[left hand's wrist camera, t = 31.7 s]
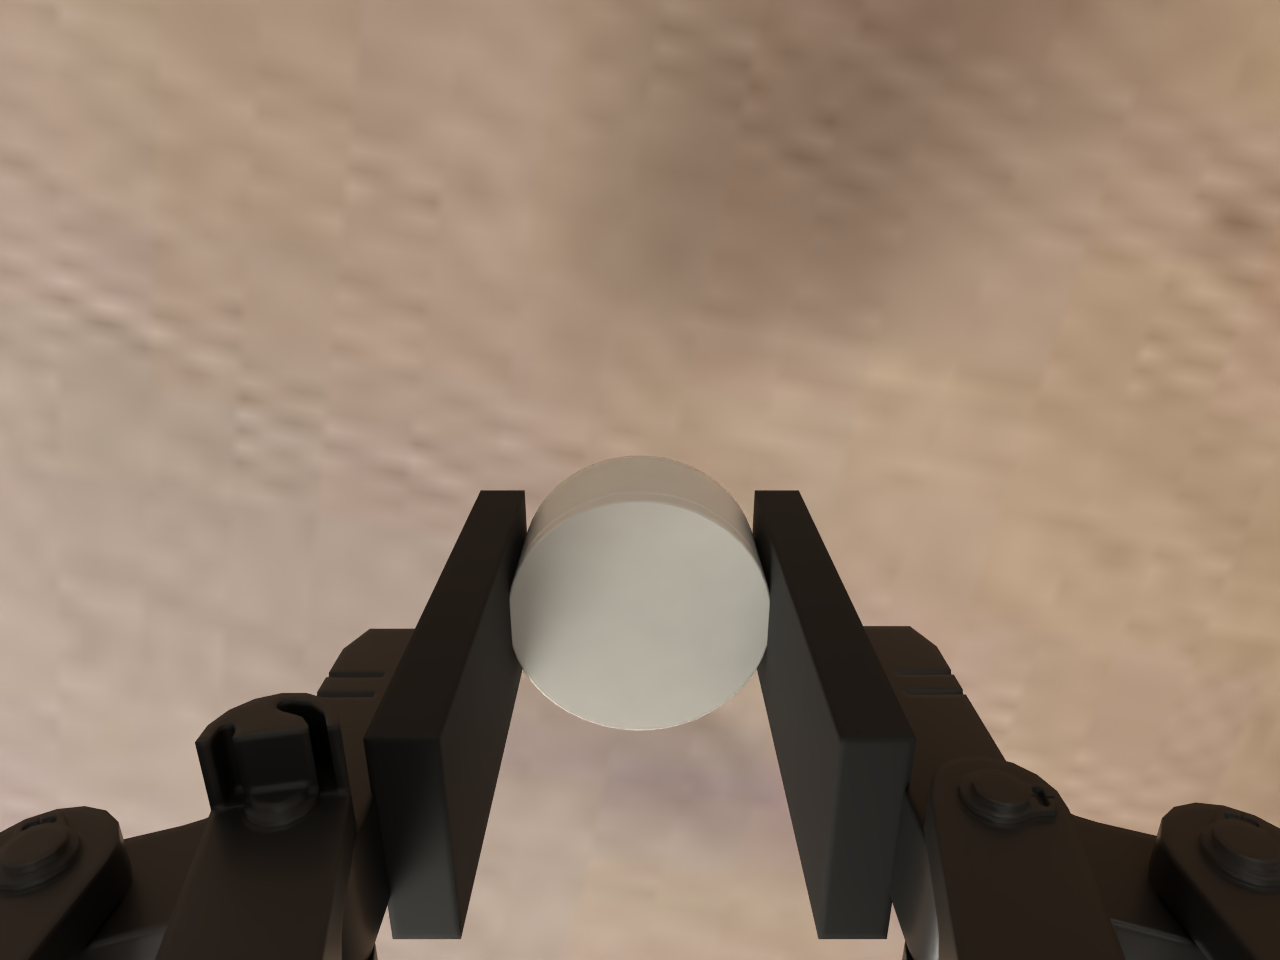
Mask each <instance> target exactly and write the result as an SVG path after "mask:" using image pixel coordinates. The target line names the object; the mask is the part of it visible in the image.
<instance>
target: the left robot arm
mask: <svg viewBox="0 0 1280 960" xmlns="http://www.w3.org/2000/svg"><path fill="white" fill-rule="evenodd" d="M526 535H527V526H526V508H525V491H480V493H479V495H478V498H477V500H476V502H475V504H474V506H473V508H472V510H471V512H470V514H469V516H468V519H467V521H466V523H465V525H464V527H463V529H462V531H461V533H460V535H459V538H458V540H457V542H456V544H455V546H454V548H453V550H452V552H451V554H450V556H449V559H448V561H447V563H446V565H445V567H444V569H443V571H442V573H441V575H440V578H439V580H438V582H437V584H436V586H435V588H434V590H433V592H432V594H431V596H430V599H429V601H428V603H427V605H426V607H425V609H424V611H423V613H422V615H421V618H420V620H419V622H418V624H417V626H416V628H415V629H369V630H368V631H367V632H365V633H364V634H363V635H361V636H360V637H359V638H357V639H356V640H355V641H353V642H352V643H351V644H349V645H348V646H347V647H345V648H344V649H343V650H342V652H341V654H340V655H339V657H338V659H337V660H336V662H335V664H334V665H333V667H332V669H331V670H330V672H329V677H326V679H325V680H324V682H323V684H322V685H321V687H320V689H319V690H318V692H317V696H315V695H311V694H308V693H280V694H276V695H271V696H266V697H262V698H257V699H254V700H251V701H249V702H247V703H244V704H242V705H240V706H237V707H235V708H233V709H230V710H228V711H227V712H226V713H224V714H223V715H221V716H220V717H219V718H217V719H216V720H214V721H213V722H212V723H210V724H209V725H208V726H207V727H206V728H205V730H204V731H203V732H202V734H201V735H200V736H199V738H198V739H197V740H196V742H195V744H196V749H197V753H198V757H199V761H200V765H201V770H202V774H203V778H204V782H205V786H206V790H207V795H208V799H209V803H210V807H211V812H210V815H209V817H208V818H206V819H203V820H200V821H196V822H193V823H190V824H187V825H183V826H179V827H175V828H171V829H166V830H162V831H158V832H153V833H149V834H145V835H140V836H136V837H132V838H127V839H123V836H122V833H121V829H120V826H119V822H118V821H117V820H116V819H115V818H114V817H113V816H111V815H110V814H109V813H108V812H107V811H106V810H101V809H96V808H91V807H86V806H82V807H73V808H63V809H56V810H53V811H50V812H46V813H43V814H40V815H37V816H34V817H31V818H28V819H25V820H23V821H21V822H19V823H17V824H15V825H14V826H12V827H10V828H8V829H6V830H4V831H2V832H0V960H378V958H377V952H376V946H375V941H376V938H377V935H378V932H379V929H380V926H381V923H382V920H383V917H384V914H385V911H386V908H387V905H388V910H389V917H390V923H391V930H392V937H393V939H461V936H462V932H463V927H464V923H465V919H466V914H467V910H468V905H469V901H470V897H471V892H472V888H473V884H474V879H475V875H476V870H477V866H478V862H479V857H480V853H481V848H482V844H483V840H484V835H485V831H486V827H487V822H488V818H489V813H490V809H491V805H492V800H493V796H494V791H495V787H496V783H497V778H498V774H499V770H500V765H501V761H502V756H503V752H504V748H505V743H506V739H507V734H508V730H509V726H510V721H511V717H512V713H513V708H514V704H515V699H516V695H517V691H518V686H519V682H520V677H521V673H522V669H523V668H522V666H521V664H520V663H519V661H518V659H517V657H516V654H515V652H514V649H513V644H512V630H511V615H510V598H509V597H510V590H511V585H512V582H513V579H514V575H515V572H516V569H517V565H518V562H519V558H520V555H521V552H522V548H523V545H524V542H525V538H526ZM753 538H754V541H755V544H756V548H757V551H758V554H759V558H760V561H761V564H762V568H763V571H764V575H765V578H766V581H767V585H768V589H769V593H770V606H769V621H768V637H767V647H766V650H765V653H764V655H763V658H762V659H761V661H760V663H759V665H758V667H757V671H758V675H759V680H760V684H761V689H762V693H763V697H764V702H765V706H766V710H767V715H768V719H769V724H770V728H771V732H772V737H773V741H774V746H775V750H776V754H777V759H778V763H779V767H780V772H781V776H782V781H783V785H784V789H785V794H786V798H787V803H788V807H789V811H790V816H791V820H792V824H793V829H794V833H795V838H796V842H797V846H798V851H799V855H800V860H801V864H802V868H803V873H804V877H805V881H806V886H807V890H808V895H809V899H810V903H811V908H812V912H813V917H814V921H815V925H816V930H817V934H818V938H819V939H887V933H888V927H889V920H890V913H891V906H892V903H893V905H894V908H895V911H896V914H897V917H898V920H899V923H900V926H901V929H902V932H903V935H904V938H905V946H904V952H903V958H902V960H1280V828H1278V827H1276V826H1274V825H1272V824H1270V823H1268V822H1266V821H1264V820H1262V819H1261V818H1259V817H1257V816H1255V815H1251V814H1248V813H1245V812H1242V811H1239V810H1236V809H1233V808H1230V807H1226V806H1223V805H1213V804H1204V803H1191V804H1187V805H1182V806H1177V807H1174V808H1173V809H1171V810H1170V811H1169V812H1168V813H1167V814H1166V815H1165V816H1164V817H1163V818H1162V820H1161V824H1160V827H1159V830H1158V834H1157V836H1154V835H1150V834H1146V833H1141V832H1137V831H1133V830H1128V829H1124V828H1120V827H1115V826H1111V825H1107V824H1102V823H1098V822H1095V821H1091V820H1088V819H1085V818H1081V817H1078V816H1075V815H1073V814H1071V813H1070V811H1069V809H1068V807H1067V806H1066V804H1065V803H1064V801H1063V800H1062V798H1061V796H1060V795H1059V793H1058V792H1057V791H1056V790H1055V789H1054V788H1053V787H1051V786H1050V785H1049V784H1048V783H1047V782H1045V781H1044V780H1043V779H1042V778H1040V777H1039V776H1038V775H1037V774H1034V773H1032V772H1030V771H1028V770H1026V769H1024V768H1022V767H1020V766H1018V765H1016V764H1014V763H1011V762H1007V761H1006V760H1005V759H1004V757H1003V755H1002V754H1001V752H1000V750H999V749H998V747H997V745H996V744H995V742H994V740H993V739H992V737H991V735H990V734H989V732H988V731H987V729H986V727H985V726H984V724H983V722H982V721H981V719H980V717H979V716H978V714H977V712H976V711H975V709H974V707H973V706H972V704H971V702H970V701H969V699H968V697H967V696H966V695H963V689H962V688H961V686H960V684H959V683H958V681H957V679H956V678H955V676H954V675H951V669H950V668H949V666H948V664H947V663H946V661H945V659H944V658H943V656H942V655H941V653H940V651H939V650H938V648H937V646H935V645H934V644H933V643H931V642H930V641H929V640H927V639H926V638H925V637H923V636H922V635H921V634H919V633H918V632H917V631H915V630H914V629H913V628H911V627H910V626H863V625H862V623H861V621H860V619H859V617H858V615H857V612H856V610H855V608H854V606H853V604H852V602H851V600H850V598H849V596H848V593H847V591H846V589H845V587H844V585H843V583H842V581H841V579H840V577H839V575H838V572H837V570H836V568H835V566H834V564H833V562H832V560H831V558H830V556H829V553H828V551H827V549H826V547H825V545H824V543H823V541H822V539H821V537H820V534H819V532H818V530H817V528H816V526H815V524H814V522H813V520H812V518H811V516H810V513H809V511H808V509H807V507H806V505H805V503H804V501H803V499H802V497H801V494H800V492H799V491H755V498H754V516H753Z"/></svg>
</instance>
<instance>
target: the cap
mask: <svg viewBox="0 0 1280 960" xmlns="http://www.w3.org/2000/svg"><path fill="white" fill-rule="evenodd" d="M509 598H510V615H511V630H512V644H513V649H514V652H515V654H516V657H517V659H518V661H519V663H520V664H521V666H522V668H523V670H524V672H525V673H526V674H527V676H528V677H529V678H530V680H531V681H532V682H533V684H534V685H535V686H536V687H537V688H538V689H539V690H540V691H541V692H542V693H543V694H544V695H545V696H546V697H547V698H549V699H550V700H551V701H552V702H554V703H555V704H556V705H558V706H559V707H561V708H562V709H564V710H566V711H567V712H569V713H571V714H573V715H575V716H577V717H579V718H581V719H584V720H586V721H589V722H592V723H595V724H598V725H601V726H606V727H611V728H616V729H625V730H655V729H663V728H669V727H673V726H677V725H681V724H684V723H687V722H690V721H693V720H696V719H698V718H700V717H702V716H704V715H706V714H708V713H710V712H712V711H714V710H715V709H717V708H718V707H720V706H721V705H723V704H724V703H726V702H727V701H728V700H729V699H731V698H732V697H733V696H734V695H735V694H737V692H738V691H739V690H740V689H741V688H742V687H743V686H744V685H745V684H746V683H747V682H748V680H749V679H750V677H751V676H752V675H753V673H754V672H755V671H756V669H757V667H758V665H759V663H760V661H761V659H762V658H763V655H764V653H765V650H766V647H767V637H768V621H769V606H770V593H769V589H768V585H767V581H766V578H765V575H764V571H763V568H762V564H761V561H760V558H759V554H758V551H757V548H756V544H755V541H754V538H753V534H752V531H751V528H750V526H749V524H748V521H747V519H746V517H745V515H744V513H743V512H742V510H741V508H740V506H739V505H738V504H737V502H736V501H735V500H734V499H733V497H732V496H731V495H730V494H729V493H728V492H727V491H726V490H725V489H724V488H723V487H722V486H721V485H720V484H719V483H718V482H716V481H715V480H713V479H712V478H711V477H709V476H708V475H706V474H705V473H703V472H701V471H699V470H697V469H695V468H693V467H691V466H689V465H686V464H683V463H681V462H678V461H674V460H670V459H666V458H661V457H652V456H626V457H619V458H613V459H609V460H605V461H602V462H598V463H596V464H593V465H591V466H588V467H586V468H584V469H582V470H580V471H578V472H577V473H575V474H573V475H571V476H570V477H569V478H567V479H566V480H565V481H563V482H562V483H561V484H559V485H558V486H557V487H556V488H555V489H554V490H553V491H552V492H551V493H550V494H549V495H548V496H547V498H546V499H545V500H544V501H543V503H542V504H541V505H540V507H539V508H538V510H537V512H536V514H535V515H534V517H533V519H532V522H531V524H530V527H529V529H528V532H527V535H526V538H525V542H524V545H523V548H522V552H521V555H520V558H519V562H518V565H517V569H516V572H515V575H514V579H513V582H512V585H511V590H510V597H509Z"/></svg>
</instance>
